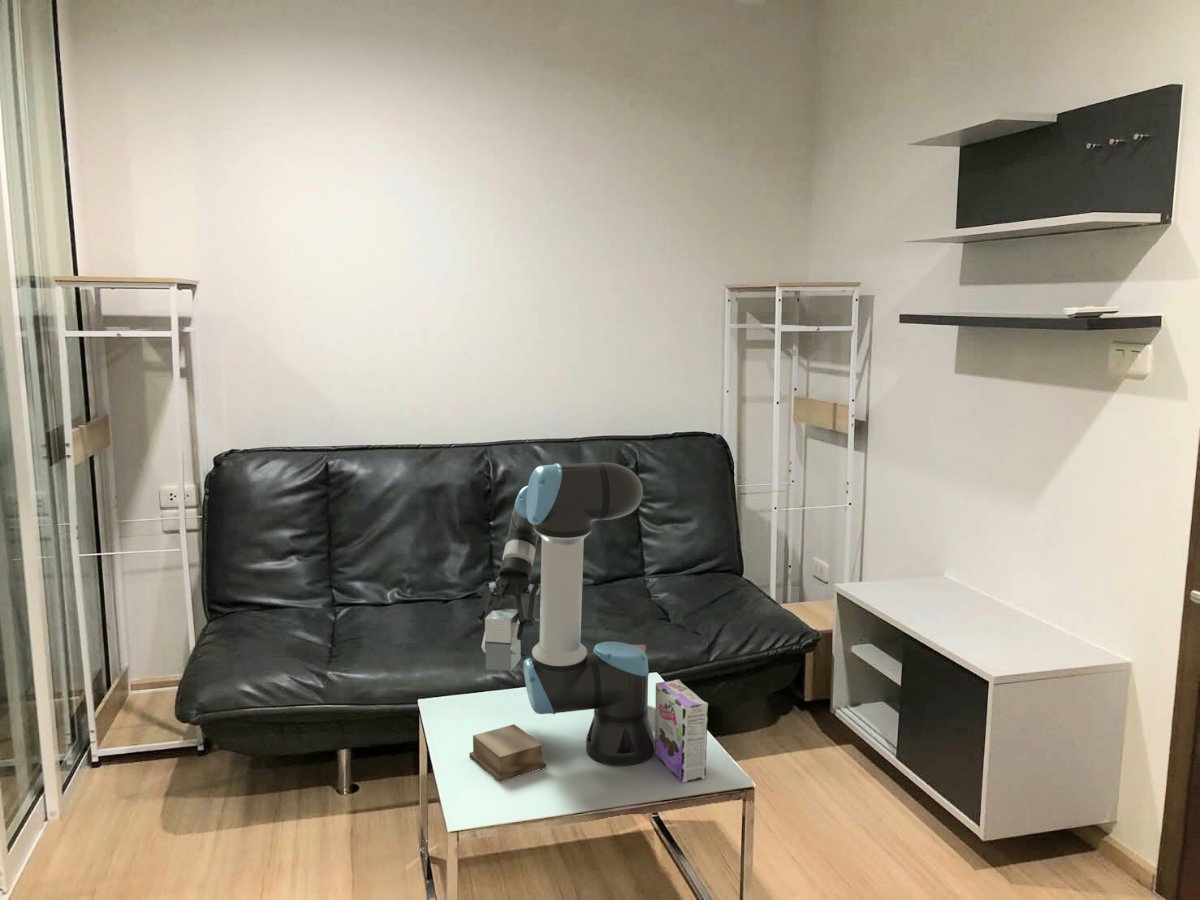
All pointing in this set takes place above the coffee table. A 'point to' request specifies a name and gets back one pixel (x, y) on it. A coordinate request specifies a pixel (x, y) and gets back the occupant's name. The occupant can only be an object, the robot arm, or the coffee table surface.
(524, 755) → the walnut stand
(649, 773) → the coffee table surface
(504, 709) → the coffee table surface
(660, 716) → the candy box
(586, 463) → the robot arm
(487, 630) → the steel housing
